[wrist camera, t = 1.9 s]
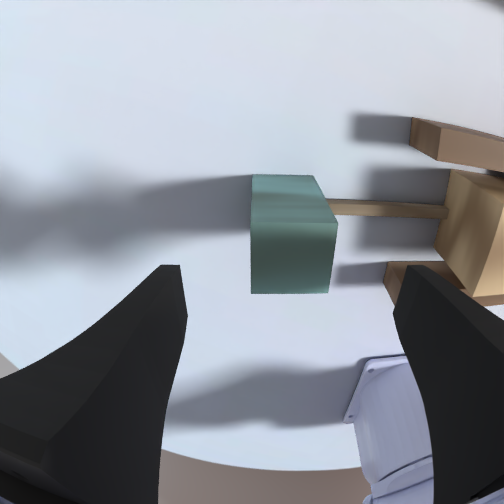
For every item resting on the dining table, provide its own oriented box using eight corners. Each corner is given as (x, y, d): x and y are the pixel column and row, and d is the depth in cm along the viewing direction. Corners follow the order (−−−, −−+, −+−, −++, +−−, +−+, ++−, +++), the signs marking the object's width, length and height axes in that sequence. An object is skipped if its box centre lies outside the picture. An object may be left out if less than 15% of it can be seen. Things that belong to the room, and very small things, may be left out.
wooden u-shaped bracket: (500, 277, 19) (520, 301, 16) (382, 282, 19) (398, 314, 16) (537, 148, 13) (567, 163, 11) (412, 117, 14) (441, 127, 11)
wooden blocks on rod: (489, 247, 17) (533, 296, 13) (252, 245, 18) (251, 313, 13) (508, 178, 15) (564, 216, 10) (252, 154, 15) (250, 194, 10)
